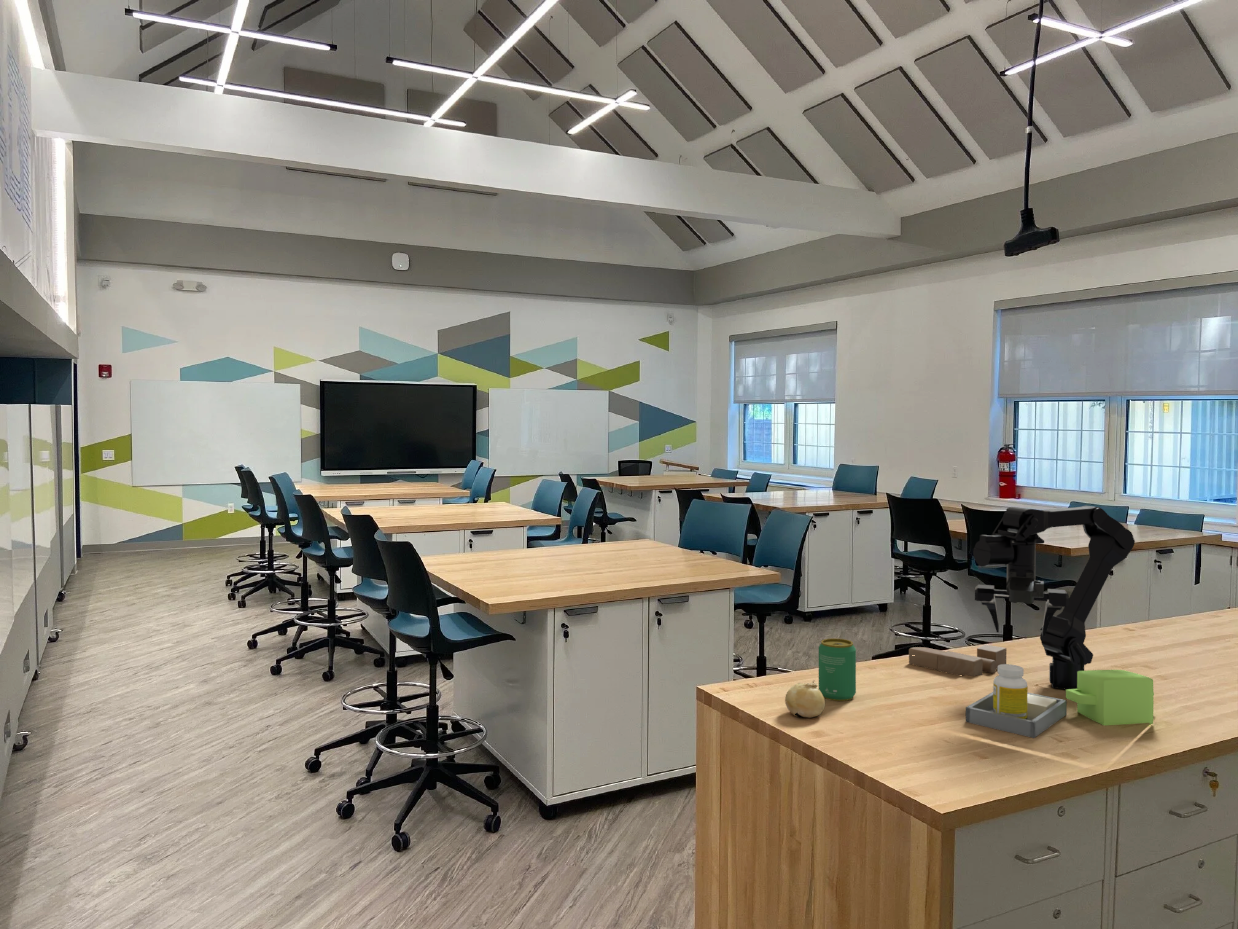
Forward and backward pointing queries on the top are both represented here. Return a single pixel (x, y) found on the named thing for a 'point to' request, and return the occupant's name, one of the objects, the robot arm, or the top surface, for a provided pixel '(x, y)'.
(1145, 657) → the top surface
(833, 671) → the beverage can
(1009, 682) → the pill bottle
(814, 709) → the onion
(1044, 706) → the cream rectangular block
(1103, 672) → the green tabbed block
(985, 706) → the tote
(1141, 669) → the top surface
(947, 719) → the top surface
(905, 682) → the top surface
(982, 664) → the wooden block set
